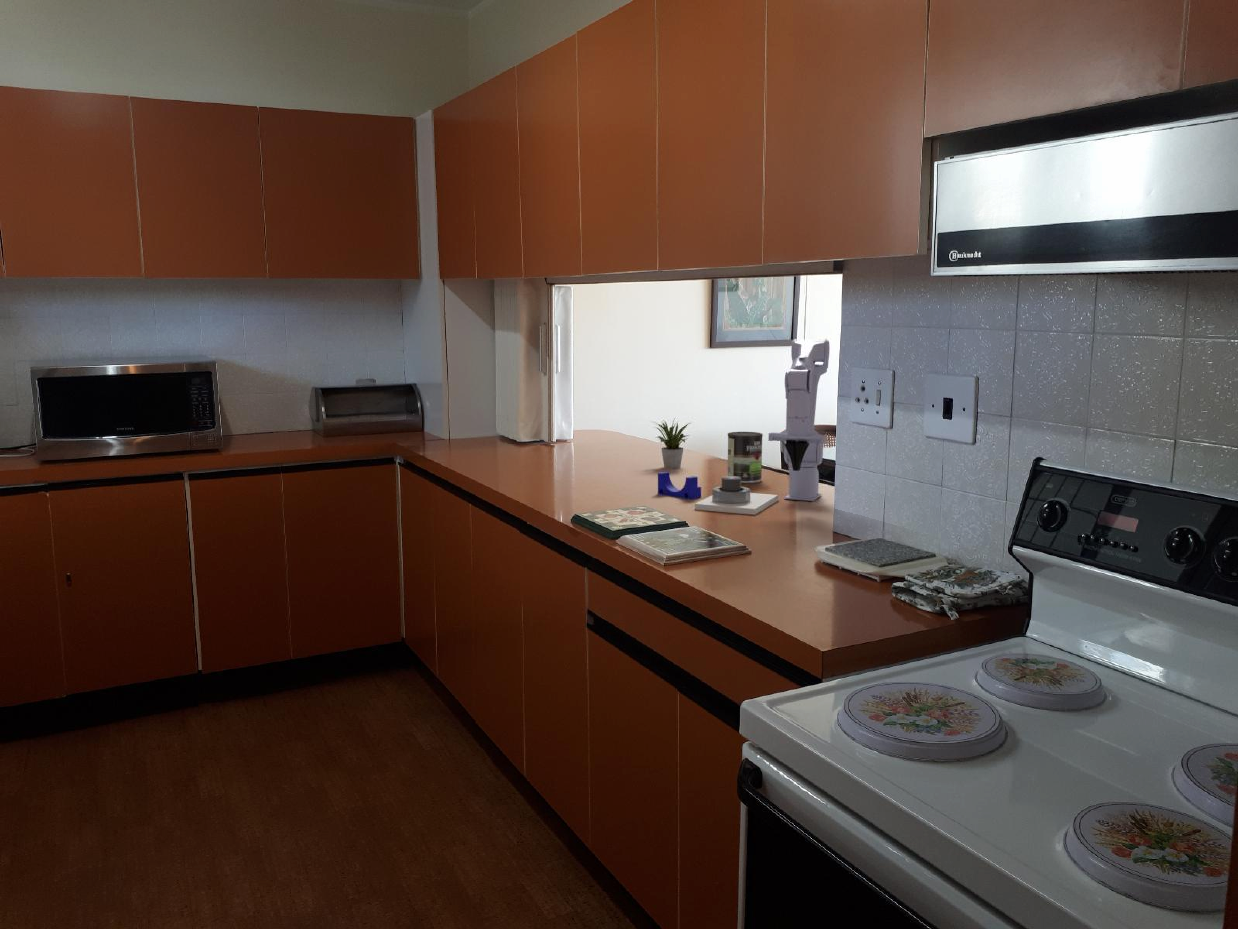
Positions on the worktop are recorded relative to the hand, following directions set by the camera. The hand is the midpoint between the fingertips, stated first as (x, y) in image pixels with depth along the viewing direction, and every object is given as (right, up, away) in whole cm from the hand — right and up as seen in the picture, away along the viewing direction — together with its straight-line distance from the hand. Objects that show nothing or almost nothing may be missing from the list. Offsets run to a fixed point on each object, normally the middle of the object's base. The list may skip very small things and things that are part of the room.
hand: (796, 470), depth 253 cm
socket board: (-14, -9, +6) cm, 18 cm away
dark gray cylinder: (-16, -8, +5) cm, 19 cm away
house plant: (-29, 0, +67) cm, 73 cm away
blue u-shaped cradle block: (-29, -7, +20) cm, 36 cm away
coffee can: (-8, -4, +43) cm, 43 cm away
